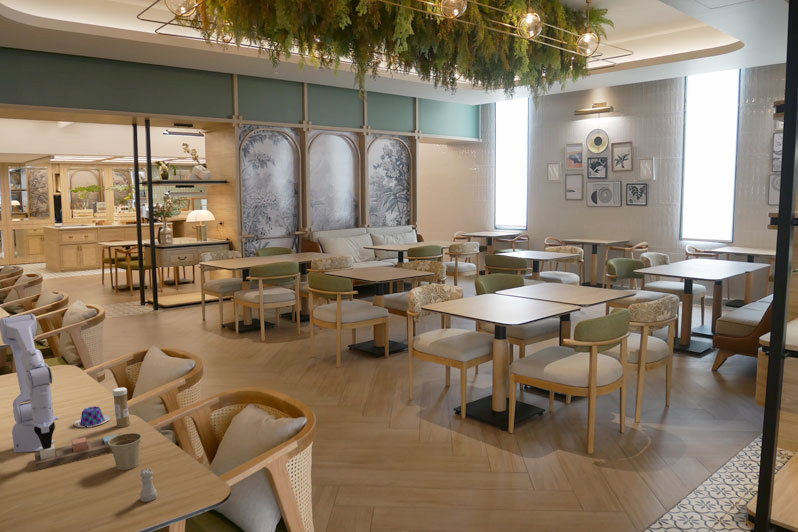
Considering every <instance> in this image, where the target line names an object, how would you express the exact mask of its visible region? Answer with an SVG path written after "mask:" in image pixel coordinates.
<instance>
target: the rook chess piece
mask: <svg viewBox="0 0 798 532" xmlns="http://www.w3.org/2000/svg"><path fill="white" fill-rule="evenodd" d="M153 474H154V472H153V470H152V468H150V467H149V468H148V467H147V468H144V469H142V470H141V473H140V474H139V476H140V477H141V482H142V487H141V488H142V489H141V491H140V494H139V499H140V501H141V502H143V503H148V502H153V501H154V500H155V499H157V497H158V490H157V489H156V488H155V486H154V483H153V479H154V477H153Z"/></svg>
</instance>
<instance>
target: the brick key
mask: <svg viewBox="0 0 798 532" xmlns="http://www.w3.org/2000/svg"><path fill="white" fill-rule="evenodd" d="M87 442H88V441H87V438H86V436H85V437H80V438H75V439H72V440H71V445H72V447H73V452H77V451H81V450H86V449H88V447H87Z"/></svg>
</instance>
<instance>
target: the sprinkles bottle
mask: <svg viewBox="0 0 798 532" xmlns="http://www.w3.org/2000/svg"><path fill="white" fill-rule="evenodd" d="M127 394H128V389H127V388H126V387H118V388H117V387H116V388H114V389H112V395H113V400H114V401H113V403H114V413H115V419H116V425H115V426H116V427H117V428H125V426H126V427H128V426H130V424H131V422H130V413H129V410H130V409H129V403H128V395H127Z"/></svg>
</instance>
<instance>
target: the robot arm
mask: <svg viewBox="0 0 798 532" xmlns="http://www.w3.org/2000/svg"><path fill="white" fill-rule="evenodd" d="M37 330H38V322H37V318H36V316H35V314H33V313H29V314H23V315H16V316H10V317H1V318H0V337H1V340H2V342H3V344H4V345H6V346H9V347H10V349H11V351H12V356H13V360H14V365H15V371H16V376H17V381H18V386H19V391H20V394H19V395H17V397H16V398H15V399H14V400H13V401H12V412H13V418H14V421H15V423H14V424H13V427H12V431H11V433H12V443H13V449H14V450H12V453H26V452H29V453H30V452H40V448H39V447H42V448H43V449H47V448H51V445H52V444H53V443H54V442H55V440H54V439H53V435H54V434H53V433H54V431H55V429H56V424H55V421H57V420H59V417H60V416H59V415H55V413H54V407H53V406H54V405H53V404H54V403H53V396H52V387H51V384H53V374H52V370H51V367H50V366H49V365H48V363H46V361H45V359H44V357H43V354H42V351H41V350H40V349H37V348H36V346H35V340H34V339H35V337H36V335H37Z"/></svg>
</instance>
